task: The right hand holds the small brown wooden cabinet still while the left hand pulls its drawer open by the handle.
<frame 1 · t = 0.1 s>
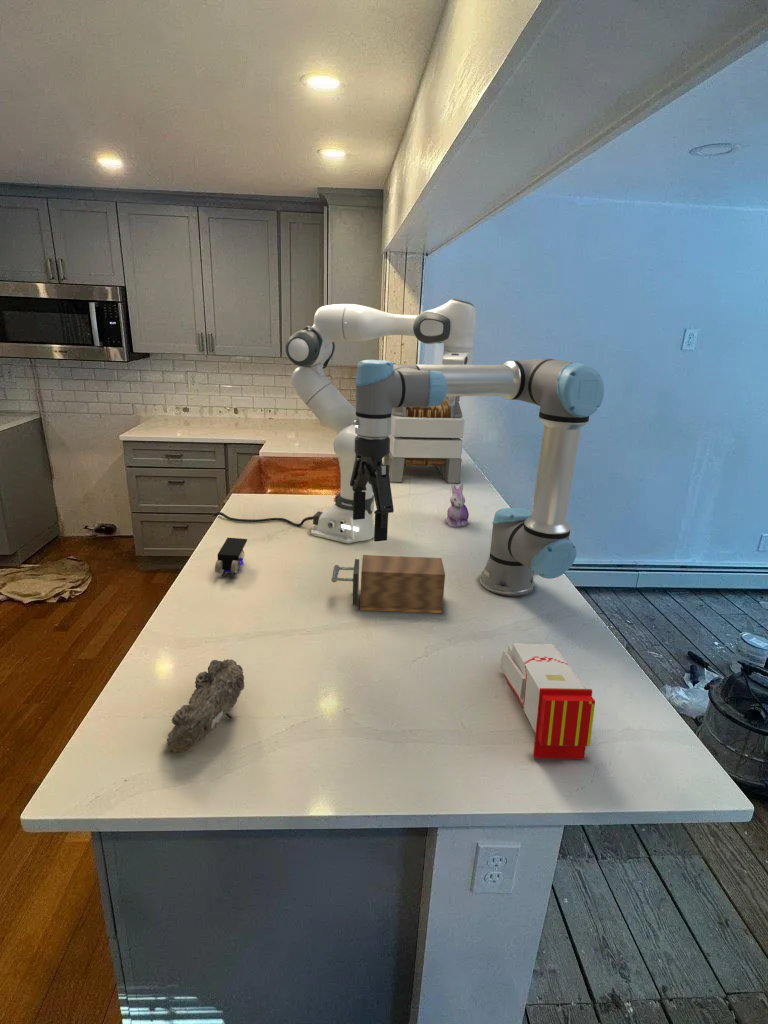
left hand: (453, 403, 174), 48 cm above the counter, tool pointing down, fingers open, 8 cm apart
right hand: (369, 529, 127), 28 cm above the counter, tool pointing down, fingers open, 13 cm apart
drawer: (380, 582, 152), point 6 cm above the counter, slide at 0.9 cm
transformer: (419, 473, 275), on the counter
fossil: (212, 717, 108), on the counter
toy: (536, 709, 114), on the counter
cabinet: (400, 601, 154), on the counter
black wheeled block: (232, 569, 168), on the counter
figurine: (457, 523, 212), on the counter
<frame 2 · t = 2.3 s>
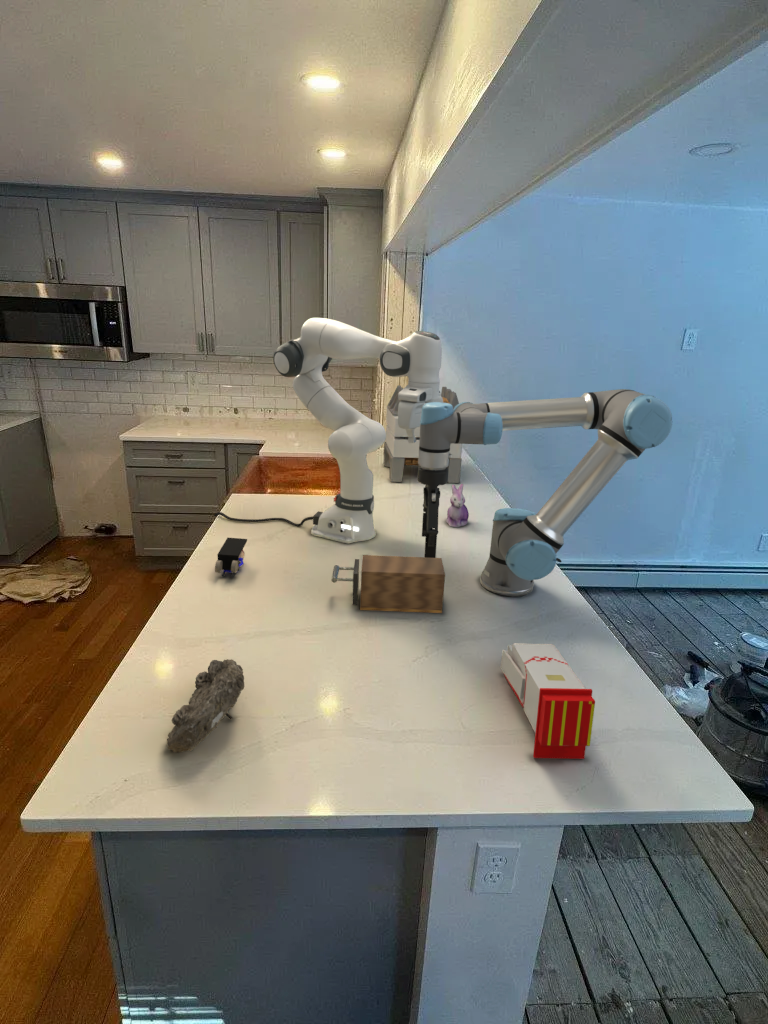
left hand: (420, 440, 164), 39 cm above the counter, tool pointing down, fingers open, 8 cm apart
right hand: (428, 546, 146), 17 cm above the counter, tool pointing down, fingers open, 13 cm apart
nothing on the counter moved.
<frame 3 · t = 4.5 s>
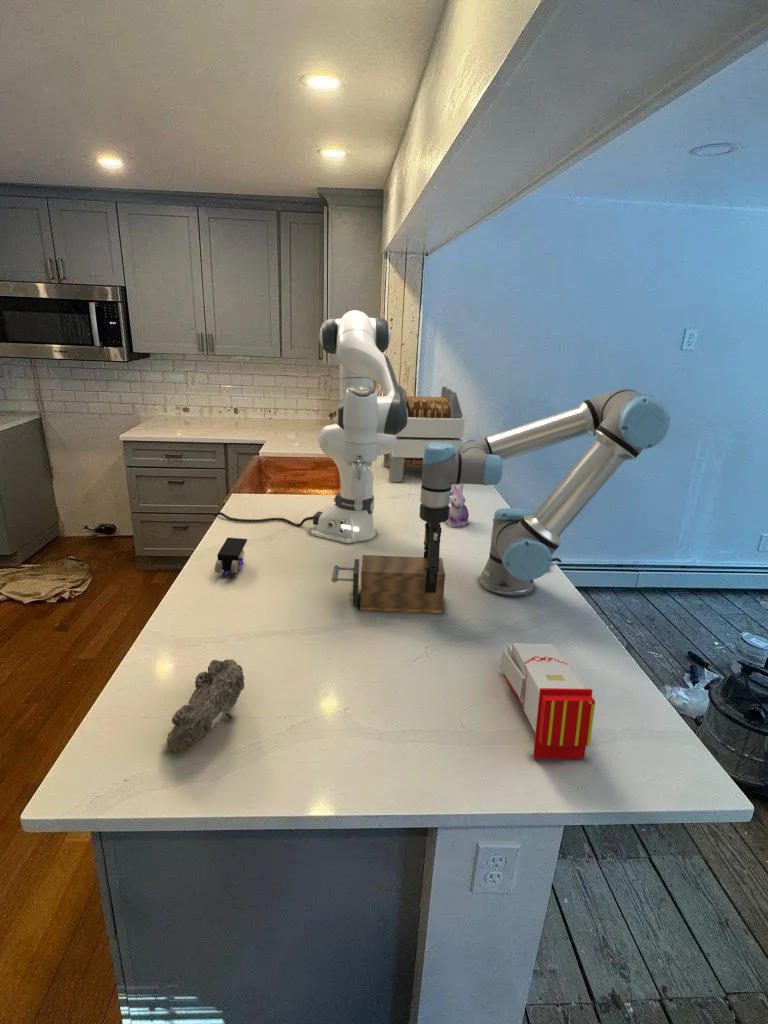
left hand: (358, 503, 148), 26 cm above the counter, tool pointing down, fingers open, 8 cm apart
right hand: (428, 582, 152), 6 cm above the counter, tool pointing down, fingers closed on cabinet, 10 cm apart
cabinet: (400, 601, 154), on the counter, touching right hand
everything else where it was.
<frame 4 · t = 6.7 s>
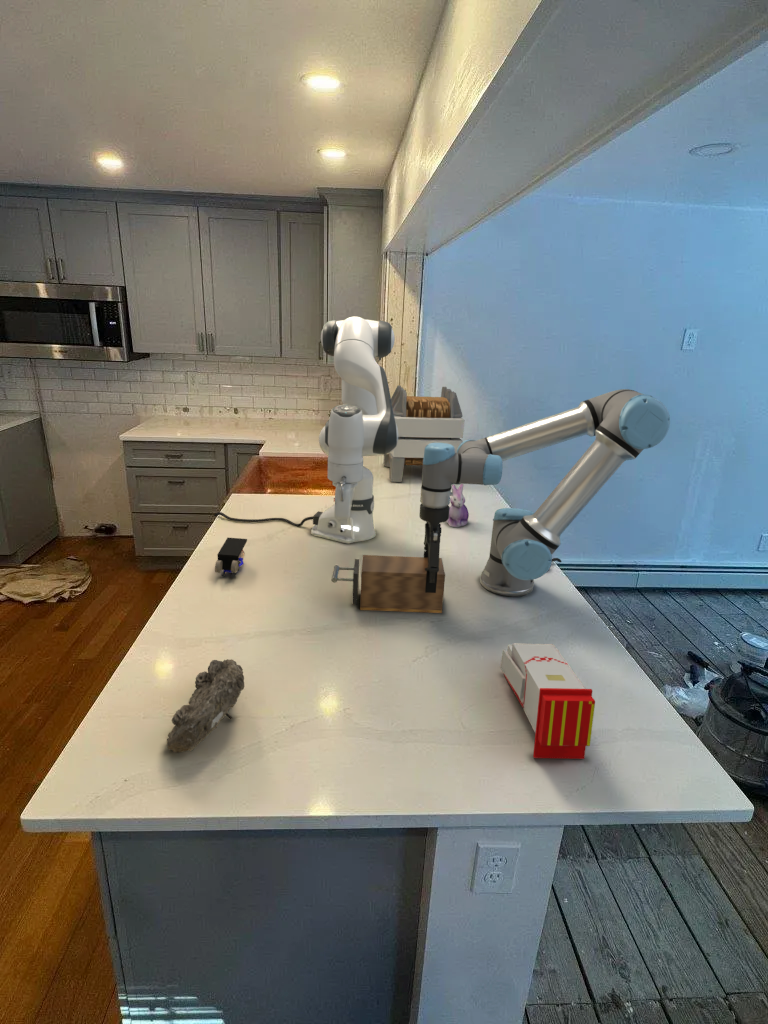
left hand: (344, 523, 146), 22 cm above the counter, tool pointing down, fingers closed
right hand: (428, 582, 152), 6 cm above the counter, tool pointing down, fingers closed on cabinet, 10 cm apart
cabinet: (400, 601, 154), on the counter, touching right hand
everything else where it was.
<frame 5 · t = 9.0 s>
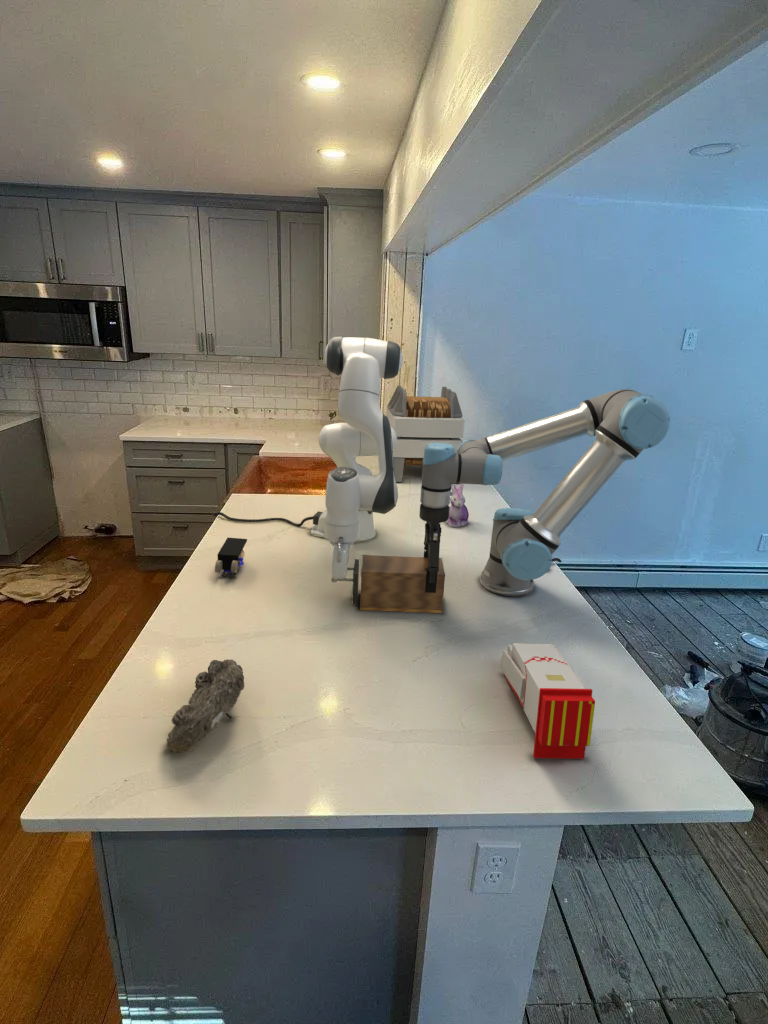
left hand: (341, 578, 151), 6 cm above the counter, tool pointing down, fingers closed, pressing on drawer
right hand: (428, 582, 152), 6 cm above the counter, tool pointing down, fingers closed on cabinet, 10 cm apart
drawer: (380, 582, 152), point 6 cm above the counter, slide at 0.9 cm, touching left hand
cabinet: (400, 601, 154), on the counter, touching right hand
everything else where it was.
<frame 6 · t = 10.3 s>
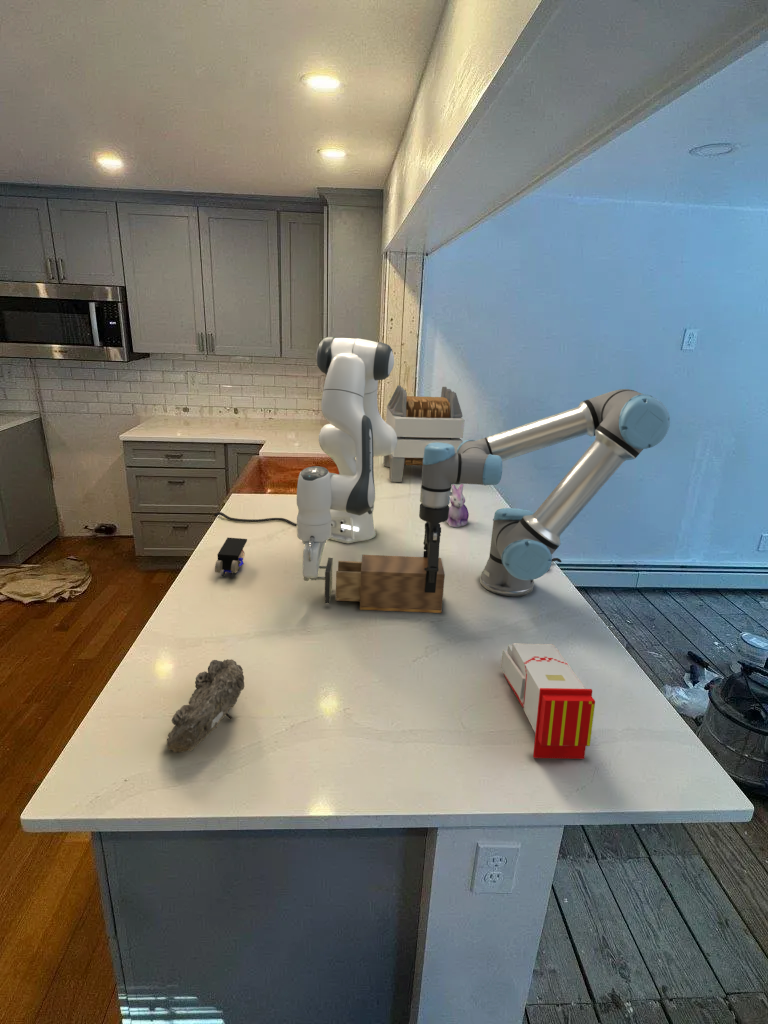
left hand: (314, 577, 151), 6 cm above the counter, tool pointing down, fingers closed, pressing on drawer
right hand: (428, 582, 152), 6 cm above the counter, tool pointing down, fingers closed on cabinet, 10 cm apart
drawer: (353, 581, 152), point 6 cm above the counter, slide at 8.0 cm, touching left hand
cabinet: (400, 601, 154), on the counter, touching right hand
everything else where it was.
when the right hand's fingers open (6 cm above the counter, at t = 12.2 s): cabinet stays where it is, on the counter.
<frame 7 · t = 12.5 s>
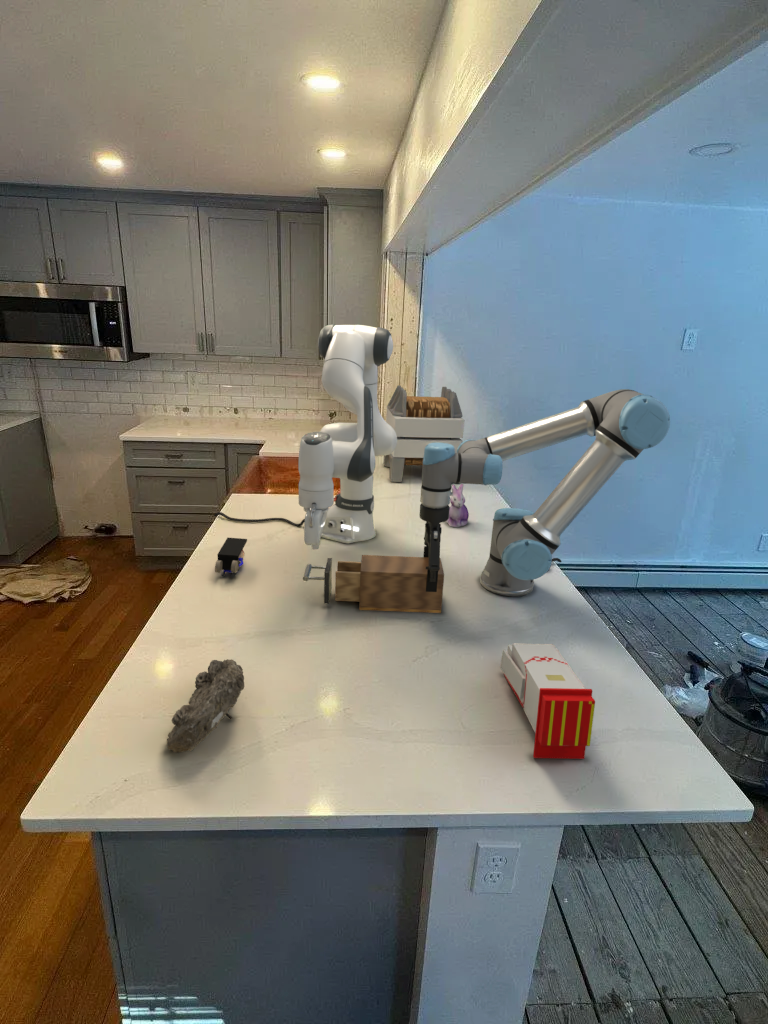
left hand: (316, 547, 148), 15 cm above the counter, tool pointing down, fingers closed
right hand: (429, 579, 151), 7 cm above the counter, tool pointing down, fingers open, 13 cm apart
drawer: (352, 581, 152), point 6 cm above the counter, slide at 8.1 cm
cabinet: (399, 601, 154), on the counter
everything else where it was.
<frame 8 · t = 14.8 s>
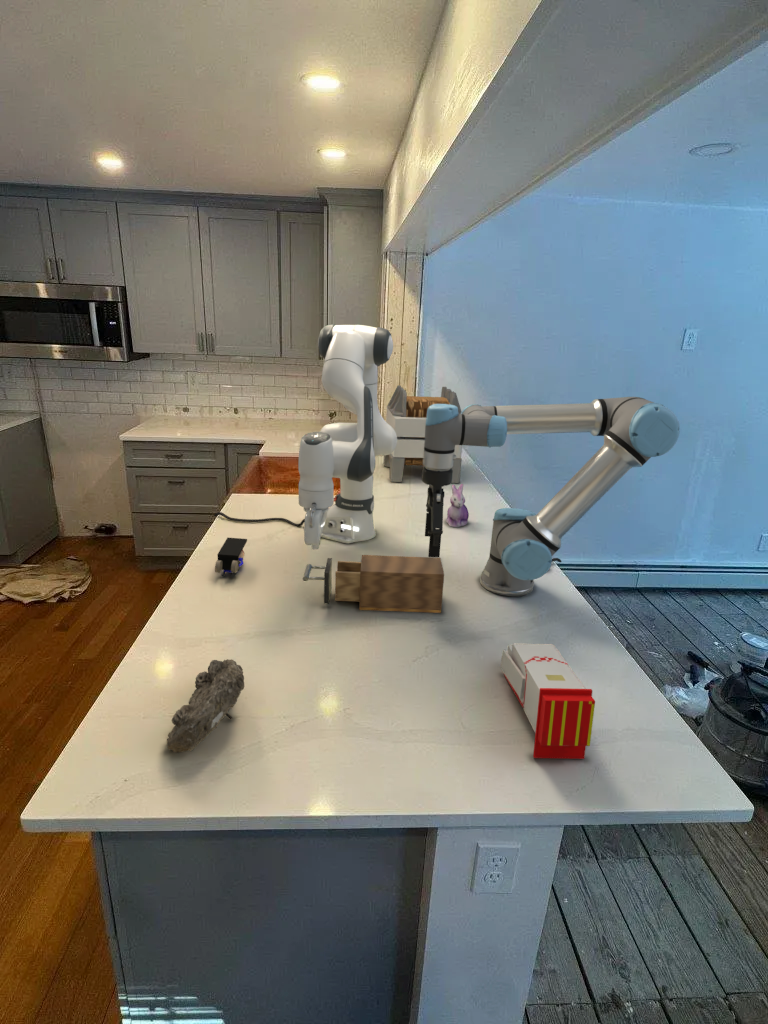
left hand: (316, 547, 148), 15 cm above the counter, tool pointing down, fingers closed
right hand: (431, 546, 148), 17 cm above the counter, tool pointing down, fingers open, 13 cm apart
nothing on the counter moved.
at the end: drawer slide at 8.1 cm; cabinet tilted 0°; cabinet never tilted more than 2° during the clip; cabinet moved 0.3 cm from its start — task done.
